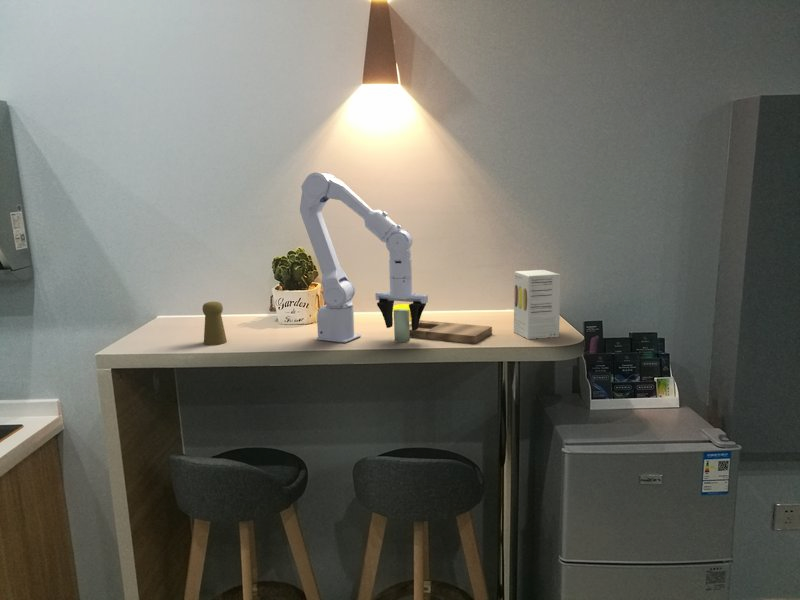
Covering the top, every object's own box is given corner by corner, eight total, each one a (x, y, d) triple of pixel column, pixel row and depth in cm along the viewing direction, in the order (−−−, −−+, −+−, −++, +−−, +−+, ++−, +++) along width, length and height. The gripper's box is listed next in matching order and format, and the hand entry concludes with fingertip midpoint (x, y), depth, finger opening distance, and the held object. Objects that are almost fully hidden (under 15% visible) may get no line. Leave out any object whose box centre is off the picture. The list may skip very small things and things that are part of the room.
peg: (391, 341, 168) (391, 311, 167) (399, 337, 171) (398, 308, 170) (405, 342, 166) (404, 312, 165) (412, 339, 169) (411, 309, 168)
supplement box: (512, 332, 175) (513, 270, 172) (543, 329, 177) (544, 269, 174) (528, 339, 166) (528, 275, 163) (560, 337, 168) (561, 273, 165)
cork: (199, 342, 171) (196, 302, 169) (219, 338, 175) (216, 299, 174) (210, 346, 167) (207, 305, 165) (231, 342, 171) (228, 301, 169)
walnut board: (399, 335, 174) (399, 328, 173) (419, 326, 184) (419, 320, 184) (475, 343, 163) (475, 336, 163) (491, 333, 173) (491, 326, 173)
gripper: (432, 276, 166) (433, 327, 168) (384, 273, 173) (385, 323, 175) (420, 280, 160) (421, 333, 162) (370, 277, 167) (372, 328, 169)
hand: (402, 328), depth 168 cm, fingers open, 7 cm apart
